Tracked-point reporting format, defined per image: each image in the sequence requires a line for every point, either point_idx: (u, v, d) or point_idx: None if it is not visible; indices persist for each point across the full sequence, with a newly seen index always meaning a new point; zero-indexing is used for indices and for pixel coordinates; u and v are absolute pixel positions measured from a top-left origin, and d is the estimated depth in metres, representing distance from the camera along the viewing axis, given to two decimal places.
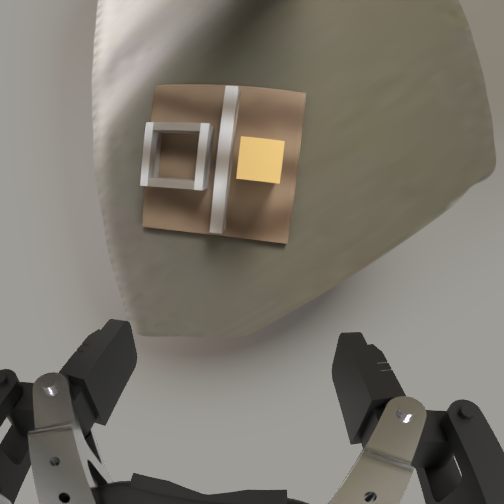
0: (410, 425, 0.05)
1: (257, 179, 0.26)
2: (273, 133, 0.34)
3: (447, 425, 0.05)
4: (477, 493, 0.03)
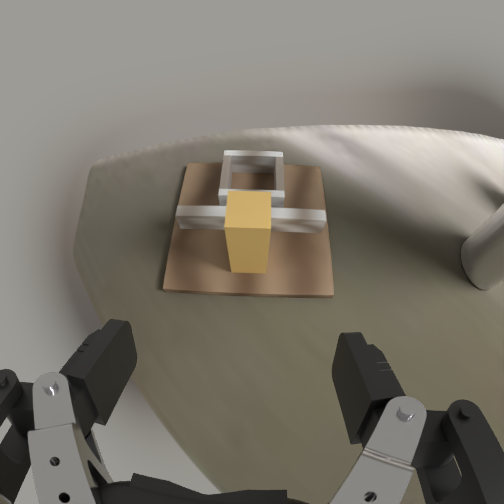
0: (410, 425, 0.05)
1: (227, 207, 0.25)
2: (282, 266, 0.34)
3: (447, 425, 0.05)
4: (477, 493, 0.03)
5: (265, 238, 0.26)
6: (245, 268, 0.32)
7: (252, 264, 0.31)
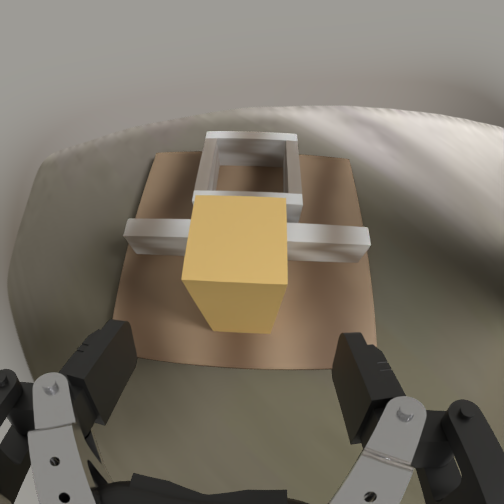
0: (410, 425, 0.05)
1: (191, 232, 0.12)
2: (297, 320, 0.20)
3: (447, 425, 0.05)
4: (477, 493, 0.03)
5: (273, 298, 0.12)
6: (235, 328, 0.18)
7: (247, 325, 0.17)
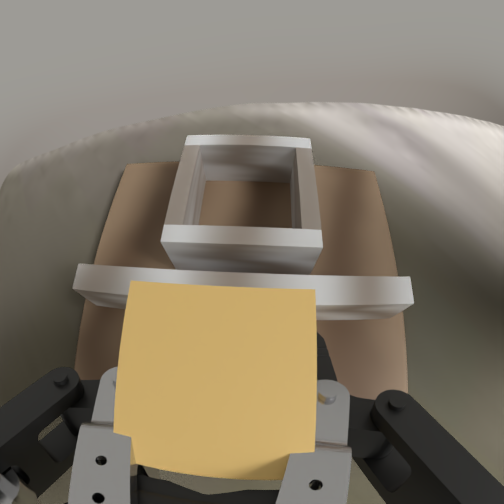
0: (327, 408, 0.06)
1: (123, 368, 0.05)
2: None
3: (378, 419, 0.06)
4: (434, 481, 0.03)
5: None
6: None
7: None
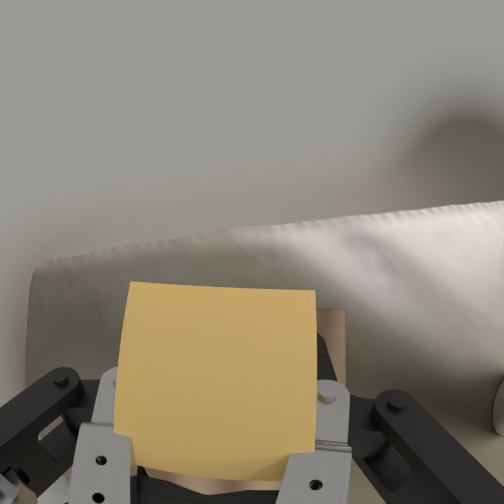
0: (328, 407, 0.06)
1: (123, 369, 0.05)
2: None
3: (378, 419, 0.06)
4: (434, 481, 0.03)
5: None
6: None
7: None
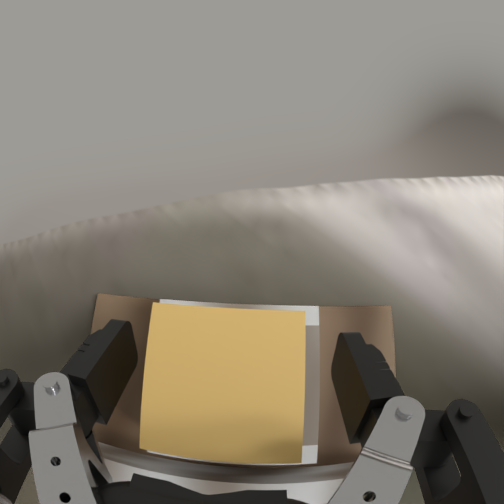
0: (409, 425, 0.05)
1: (148, 375, 0.06)
2: None
3: (446, 425, 0.05)
4: (476, 493, 0.03)
5: None
6: None
7: None
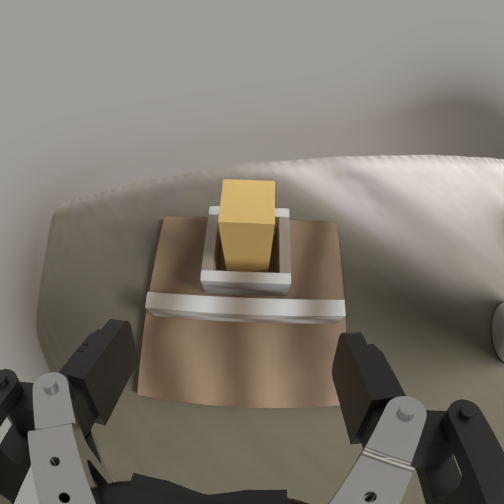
0: (410, 425, 0.05)
1: (222, 198, 0.21)
2: (285, 371, 0.25)
3: (447, 425, 0.05)
4: (477, 493, 0.03)
5: (267, 236, 0.22)
6: (243, 271, 0.28)
7: (251, 266, 0.27)
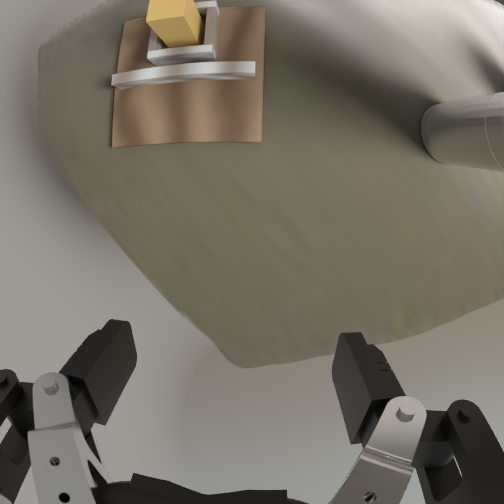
0: (410, 425, 0.05)
1: (149, 6, 0.19)
2: (212, 114, 0.32)
3: (447, 425, 0.05)
4: (477, 493, 0.03)
5: (183, 23, 0.21)
6: None
7: (185, 43, 0.27)
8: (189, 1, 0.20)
